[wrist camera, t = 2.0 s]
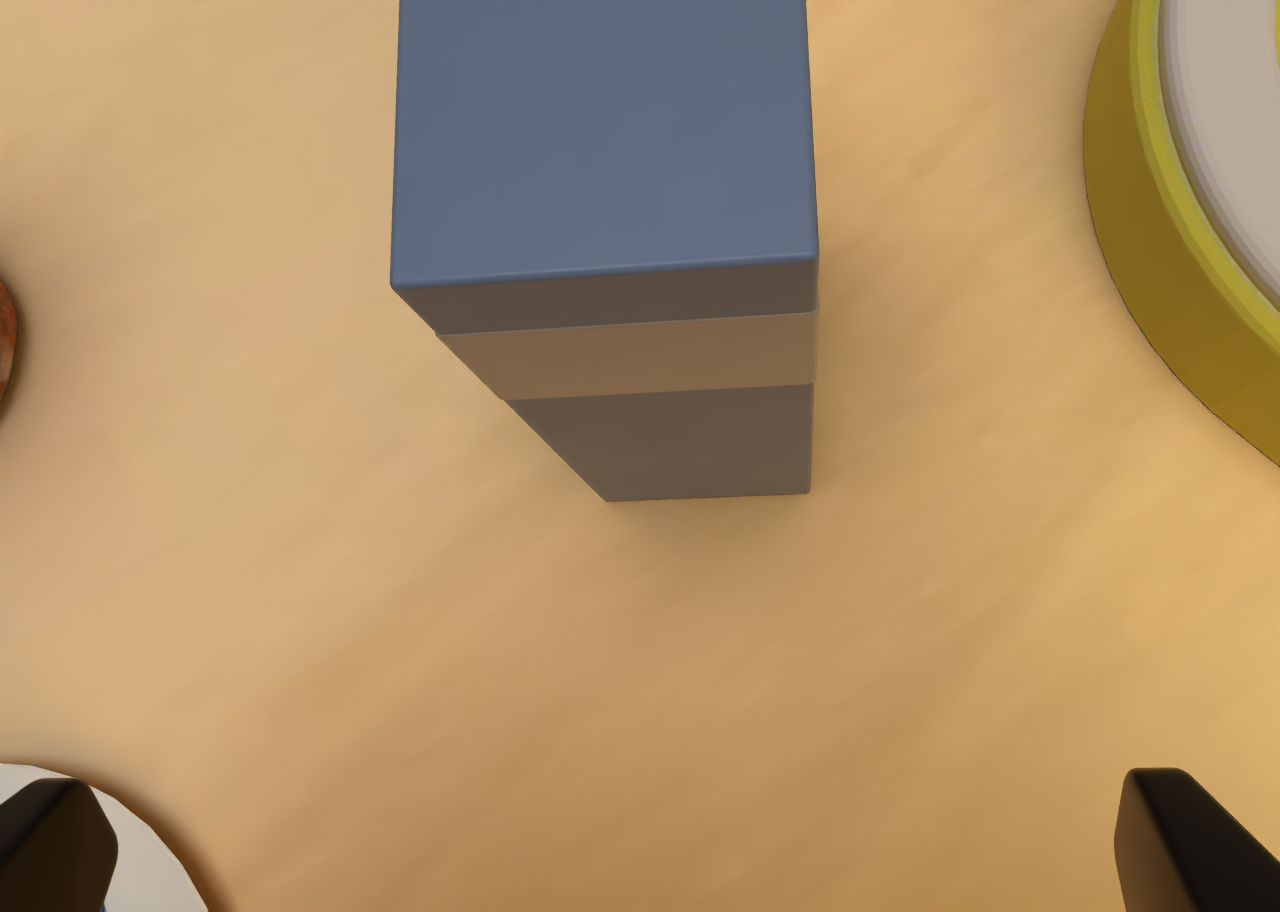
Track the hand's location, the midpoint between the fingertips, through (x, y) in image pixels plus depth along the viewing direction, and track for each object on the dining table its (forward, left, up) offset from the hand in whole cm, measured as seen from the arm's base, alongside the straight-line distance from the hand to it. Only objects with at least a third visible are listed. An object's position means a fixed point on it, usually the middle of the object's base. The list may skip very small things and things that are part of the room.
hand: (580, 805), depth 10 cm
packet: (+6, -5, -14) cm, 16 cm away
